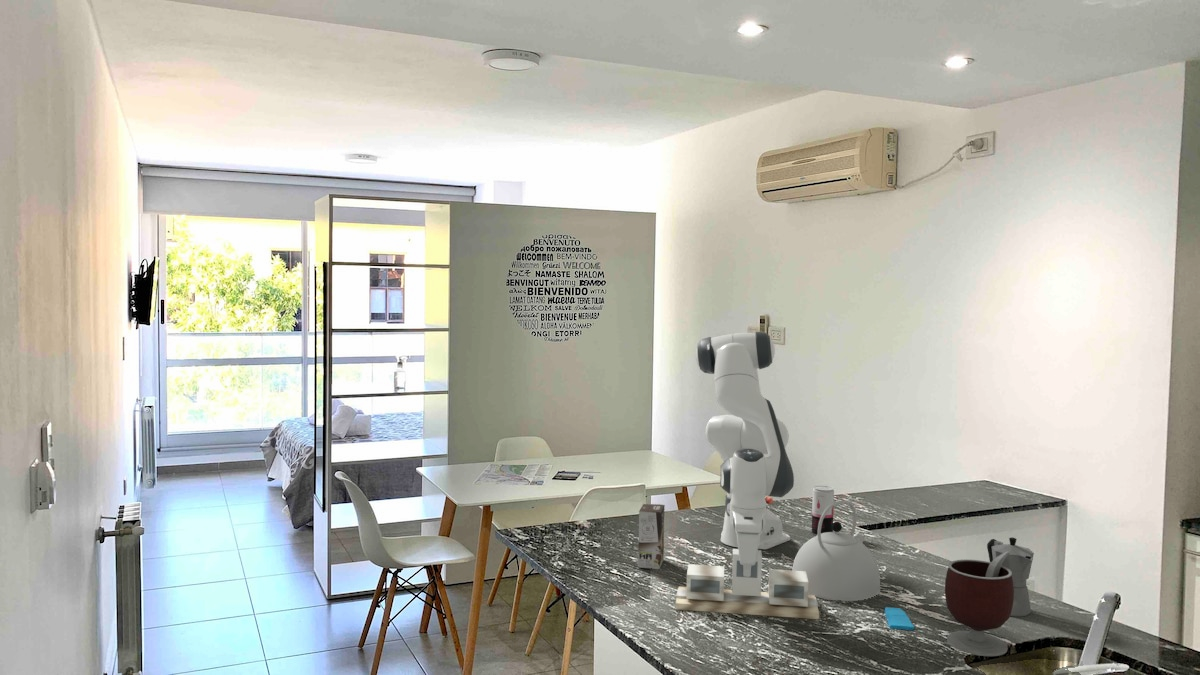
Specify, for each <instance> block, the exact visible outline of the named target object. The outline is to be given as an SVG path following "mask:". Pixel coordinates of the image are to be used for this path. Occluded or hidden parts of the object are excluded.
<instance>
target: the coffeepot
mask: <svg viewBox="0 0 1200 675" xmlns="http://www.w3.org/2000/svg"><path fill="white" fill-rule="evenodd" d="M1008 539H1009V540H1008V541H1009V544H1008V543H1004V542H1002V541H999V540H996V539H994V538H991V539H990V540H989V541H988V542H987V544H986V549H987V553H988V559H989V560H988V561H989V562H992V561H993V560H994V559H995V558H996V557H998V556H1000V555H1001V554H1003V553H1005V552H1007V551H1008V552H1009V553H1010V554H1009V555H1007V557H1006V558H1005V559H1004V561H1003V563H1002V566H1004V567H1006V568H1008V569H1009V570H1011V572H1012V579H1013V586H1014V601H1013V607H1012V611H1011V615H1010V617H1026V616H1029V615H1030V614H1031V613H1032V610H1031V602H1030V597H1029V596H1030V595H1029V588H1028V586H1027V580H1028V579H1029V578H1030V575H1031V574H1030V573H1031V569H1032V563H1033V560H1034V555H1035V553H1034V552H1033V551H1032V550H1031V549H1030V548H1027V547H1023V546H1019V545H1016V543H1017V538H1016V537H1009V538H1008Z"/></svg>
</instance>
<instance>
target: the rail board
mask: <svg viewBox="0 0 1200 675" xmlns="http://www.w3.org/2000/svg"><path fill="white" fill-rule="evenodd" d="M818 606H819V603H818V601H817V597H815V595H808V579H807V574H806V571H792V570H790V569H789V570H788V569H773V568H768V591H761V596H748V595H733V594H732V589H725V565H723V566H722V565H708V564H707V565H705V564H704V565H703V564H694V563H693V564H689V563H688V565H687V572H686V586H678V588H677V591H676V599H675V606H674V608H675V610H680V611H681V610H682V611H696V612H708V613H709V612H711V613H726V614H738V615H739V614H740V615H752V616H769V617H781V618H782V617H783V618H794V619H795V618H798V619H810V620H820V611H819V608H818Z"/></svg>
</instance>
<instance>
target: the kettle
mask: <svg viewBox="0 0 1200 675" xmlns="http://www.w3.org/2000/svg"><path fill="white" fill-rule="evenodd" d="M843 504H845V505H848V506H849V507H850V508H851V512H852V518H853V519H852V526H851V530H850V533H849V534H848V533H844V532H841V531H842V529H843V526H842V524H841V522H839V521H833V524H832V529H833V532H826V533H822V534H821V526H822V522H823V519H824V517H825V515H826V513H827V512H828V511H829V510H830V509H831V508H832V507H836V506H838V505H843ZM856 527H857V511H856V508H855V505H854V504H853V503H851V501H848V500H838V501H834V503H832V504H831V505H829V506H828V507H827V508H826V509H825V510H824V512H823V514H822V516H821V518H820V521H819V525H818V535H817V536H816V535H814V537H812V538H810V539H809V540H807V541H806V542H805V543H803V545H801V547H800V548H799V549H798V552H797V553H796V555H795V558H794V560H793V563H792V571H806V574H807V579H808V595H815V598H818V599H823V600H829V601H838V600H841V601H840V602H858V600H859V601H865V600H864V599H866V600H869V599H868V598H870V599H872V598H871V597H873V598H875V597H877V596H878V595H879V594H880V593H881V576H880V574H881V573H880V570H879V566H878V563H877V561H876V559H875V557H874V555H873V554H872V552H871V551H870V549H869V548H868V547H867V546H866V545H865V544H864V543H863V542H864V540H865V538H866V536H865V535H863V534H860V533H857V534H855V531H856ZM854 535H855V536H854ZM876 595H877V596H876ZM874 596H875V597H874Z"/></svg>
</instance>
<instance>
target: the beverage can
mask: <svg viewBox="0 0 1200 675" xmlns="http://www.w3.org/2000/svg"><path fill="white" fill-rule="evenodd" d="M811 502H812V506H811V507H812V508H811V510H812V512H811V533H812V535H814V536H817V535H818V525H819V521H820V518H821V516H822V514H823V512H824V510H825V509H826V508H827V507H828V506H829V505H831V504H832V503H835V490H834V487H833V486H827V485H815V486H813V489H812V501H811ZM834 507H835V506H834ZM834 507H832V508H831V509H830V510H829V511H828V512H827V513H826V515H825V517H824V519H823V522H822V526H821V534H822V533H826V532H834V530H833V529H832V524H833V523H834V510H835V508H834Z"/></svg>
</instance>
